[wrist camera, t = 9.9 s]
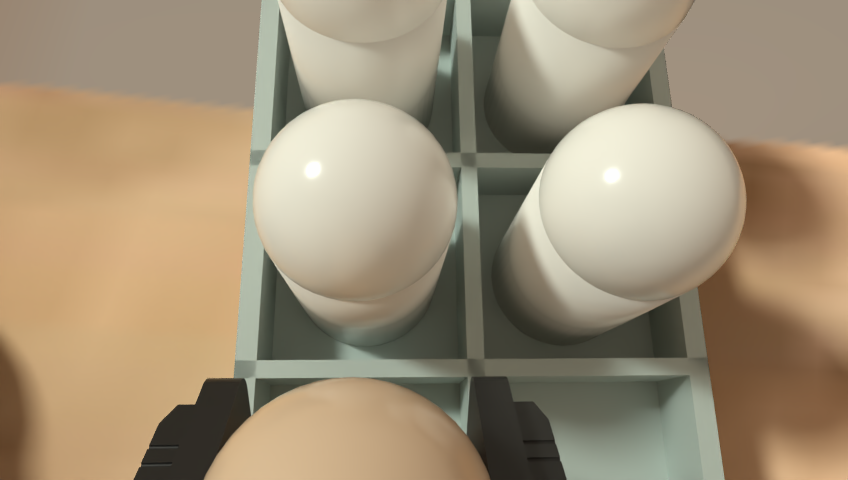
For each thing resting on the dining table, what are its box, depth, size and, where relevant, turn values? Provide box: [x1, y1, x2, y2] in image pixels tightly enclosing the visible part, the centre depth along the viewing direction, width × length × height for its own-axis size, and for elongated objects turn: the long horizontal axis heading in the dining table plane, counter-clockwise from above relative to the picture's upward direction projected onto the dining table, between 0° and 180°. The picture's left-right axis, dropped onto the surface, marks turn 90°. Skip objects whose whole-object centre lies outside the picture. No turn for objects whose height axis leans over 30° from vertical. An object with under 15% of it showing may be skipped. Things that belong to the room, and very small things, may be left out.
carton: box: [234, 0, 725, 480], centre depth 21 cm, size 14×20×3 cm
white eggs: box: [253, 0, 747, 346], centre depth 18 cm, size 11×11×10 cm
